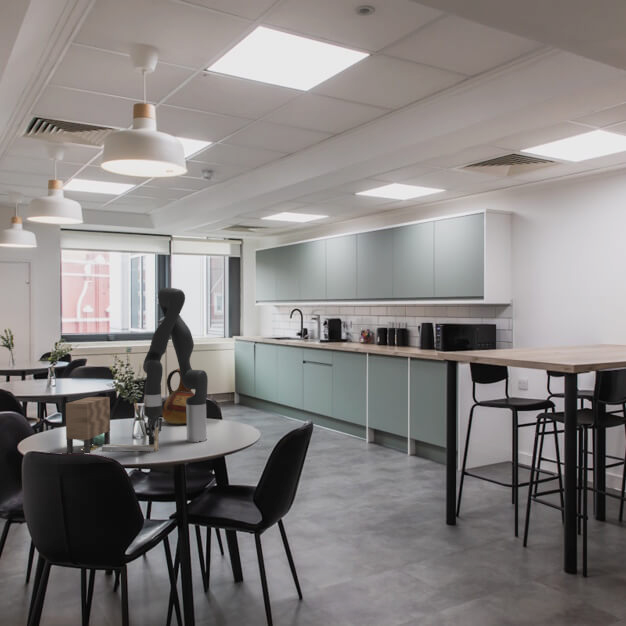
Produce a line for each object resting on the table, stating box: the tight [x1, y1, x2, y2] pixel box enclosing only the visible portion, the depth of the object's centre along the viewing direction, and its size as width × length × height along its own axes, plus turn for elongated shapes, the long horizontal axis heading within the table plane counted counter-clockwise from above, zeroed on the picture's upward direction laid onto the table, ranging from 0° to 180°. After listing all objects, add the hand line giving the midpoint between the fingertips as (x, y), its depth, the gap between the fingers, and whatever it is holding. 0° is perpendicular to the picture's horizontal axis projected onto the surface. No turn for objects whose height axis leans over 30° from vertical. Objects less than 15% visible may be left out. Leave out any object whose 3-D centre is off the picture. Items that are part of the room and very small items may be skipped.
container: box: [94, 433, 104, 445], centre depth 296 cm, size 6×6×25 cm
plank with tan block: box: [101, 427, 160, 453], centre depth 274 cm, size 5×25×10 cm, turn 81°
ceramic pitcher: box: [161, 367, 195, 425], centre depth 340 cm, size 20×20×30 cm
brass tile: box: [80, 445, 98, 451], centre depth 277 cm, size 5×5×2 cm
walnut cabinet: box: [65, 396, 111, 454], centre depth 277 cm, size 20×10×22 cm, turn 171°
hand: (153, 443), depth 273 cm, fingers open, 4 cm apart
